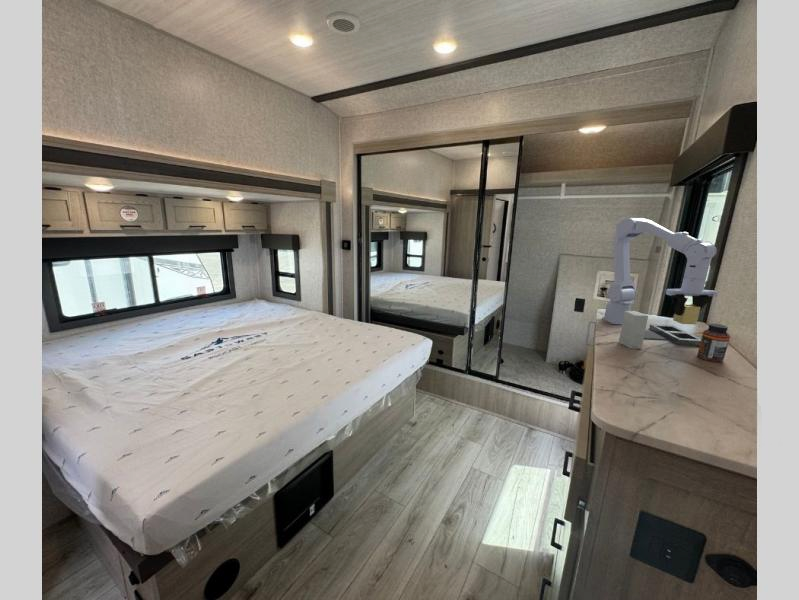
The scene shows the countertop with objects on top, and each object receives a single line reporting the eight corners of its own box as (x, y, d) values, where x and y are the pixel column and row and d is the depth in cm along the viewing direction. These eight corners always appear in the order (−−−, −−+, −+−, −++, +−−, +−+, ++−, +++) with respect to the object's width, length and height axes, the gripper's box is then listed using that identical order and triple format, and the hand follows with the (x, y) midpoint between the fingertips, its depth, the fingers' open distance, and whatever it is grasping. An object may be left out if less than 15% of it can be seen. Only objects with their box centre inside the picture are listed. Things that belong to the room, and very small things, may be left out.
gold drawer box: (673, 320, 113) (677, 302, 111) (686, 320, 112) (691, 302, 110) (681, 324, 108) (686, 305, 107) (696, 324, 108) (700, 306, 106)
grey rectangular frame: (649, 329, 124) (650, 324, 124) (671, 330, 123) (672, 325, 122) (678, 345, 108) (679, 339, 107) (704, 346, 106) (705, 341, 106)
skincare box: (642, 348, 105) (649, 315, 102) (629, 348, 105) (636, 315, 102) (629, 342, 111) (635, 310, 108) (617, 342, 111) (623, 310, 108)
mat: (626, 330, 122) (626, 329, 122) (651, 331, 121) (651, 330, 121) (639, 338, 114) (639, 337, 114) (666, 340, 112) (666, 339, 112)
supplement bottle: (693, 353, 101) (701, 321, 98) (716, 356, 99) (725, 323, 96) (702, 361, 95) (711, 327, 93) (727, 364, 93) (737, 329, 90)
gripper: (679, 279, 103) (670, 317, 107) (728, 280, 101) (718, 319, 104) (665, 275, 110) (657, 311, 114) (711, 276, 108) (702, 313, 111)
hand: (685, 315), depth 109 cm, fingers closed on gold drawer box, 4 cm apart
